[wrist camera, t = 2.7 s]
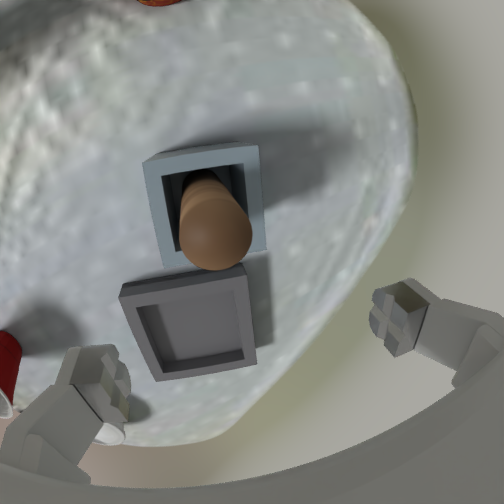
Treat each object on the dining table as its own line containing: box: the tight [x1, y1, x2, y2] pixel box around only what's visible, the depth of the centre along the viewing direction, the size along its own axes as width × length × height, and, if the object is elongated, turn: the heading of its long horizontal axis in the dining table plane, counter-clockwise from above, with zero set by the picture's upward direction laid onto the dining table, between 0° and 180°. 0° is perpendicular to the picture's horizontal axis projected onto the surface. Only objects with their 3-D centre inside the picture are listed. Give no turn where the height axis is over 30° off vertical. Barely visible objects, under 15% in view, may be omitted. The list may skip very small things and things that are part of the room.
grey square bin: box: [142, 142, 267, 268], centre depth 24 cm, size 8×8×9 cm
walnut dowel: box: [179, 169, 253, 270], centre depth 21 cm, size 4×4×14 cm
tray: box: [118, 263, 257, 382], centre depth 34 cm, size 15×15×3 cm
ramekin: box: [93, 422, 125, 445], centre depth 37 cm, size 11×11×5 cm
